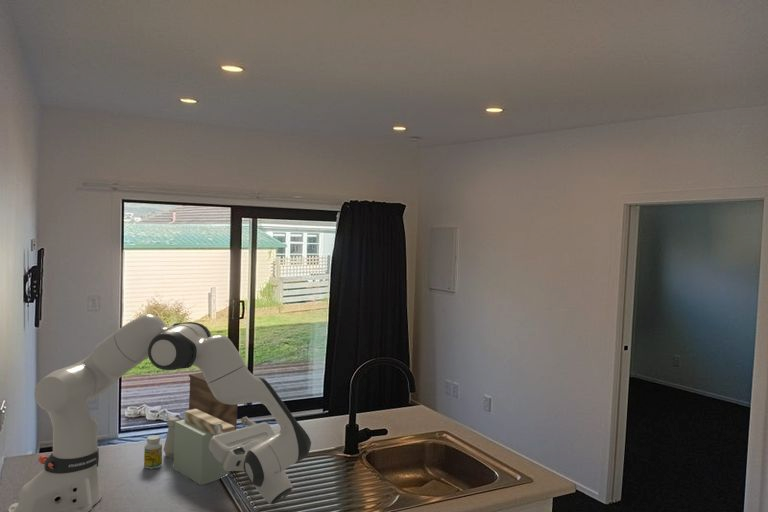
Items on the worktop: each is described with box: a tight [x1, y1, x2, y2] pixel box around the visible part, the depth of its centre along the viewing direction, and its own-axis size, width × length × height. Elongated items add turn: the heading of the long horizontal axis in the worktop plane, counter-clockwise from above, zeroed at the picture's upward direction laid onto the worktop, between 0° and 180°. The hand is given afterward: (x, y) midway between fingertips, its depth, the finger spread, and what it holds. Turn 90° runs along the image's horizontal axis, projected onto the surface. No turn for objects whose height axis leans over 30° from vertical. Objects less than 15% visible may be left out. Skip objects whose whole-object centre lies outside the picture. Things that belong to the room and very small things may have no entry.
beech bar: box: [183, 409, 235, 435], centre depth 177 cm, size 23×4×3 cm, turn 49°
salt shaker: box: [163, 416, 181, 459], centre depth 192 cm, size 6×6×13 cm
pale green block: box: [172, 419, 230, 486], centre depth 180 cm, size 10×17×16 cm, turn 49°
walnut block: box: [188, 371, 238, 430], centre depth 201 cm, size 12×15×26 cm
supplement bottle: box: [143, 434, 163, 469], centre depth 183 cm, size 5×5×10 cm
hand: (230, 421), depth 170 cm, fingers open, 8 cm apart
